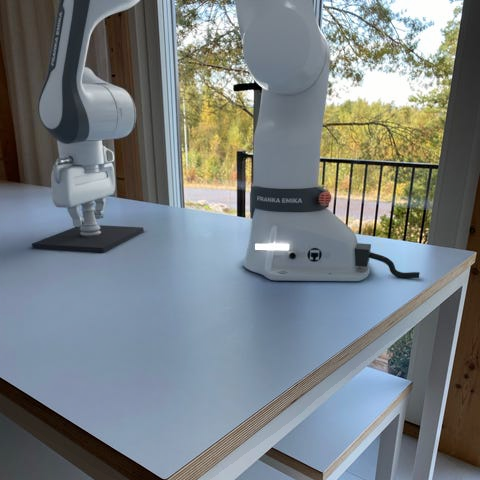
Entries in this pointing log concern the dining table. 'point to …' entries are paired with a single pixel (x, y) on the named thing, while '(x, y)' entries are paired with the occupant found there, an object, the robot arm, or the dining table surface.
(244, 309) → the dining table surface
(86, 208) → the rook chess piece
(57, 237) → the mat
